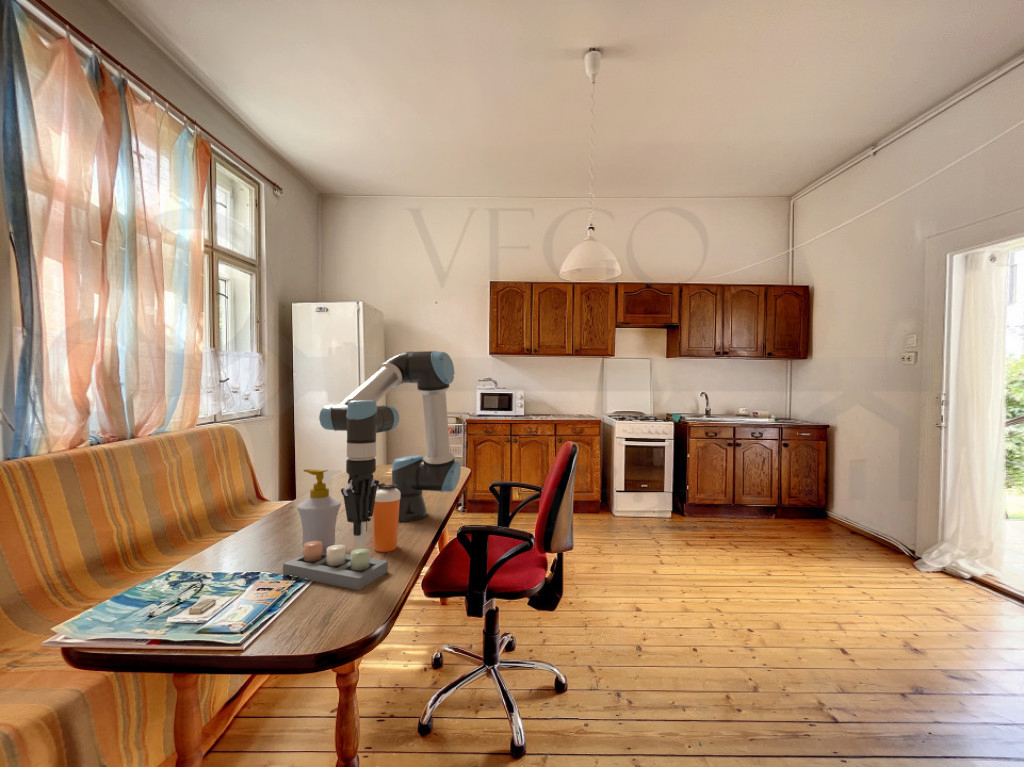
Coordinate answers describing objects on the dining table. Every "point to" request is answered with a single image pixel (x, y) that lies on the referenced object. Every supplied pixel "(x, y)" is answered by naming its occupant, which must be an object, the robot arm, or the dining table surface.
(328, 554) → the cream egg
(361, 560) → the pale green rounded knob
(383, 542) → the shaker bottle
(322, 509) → the soap bottle
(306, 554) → the brown egg
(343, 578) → the panel
